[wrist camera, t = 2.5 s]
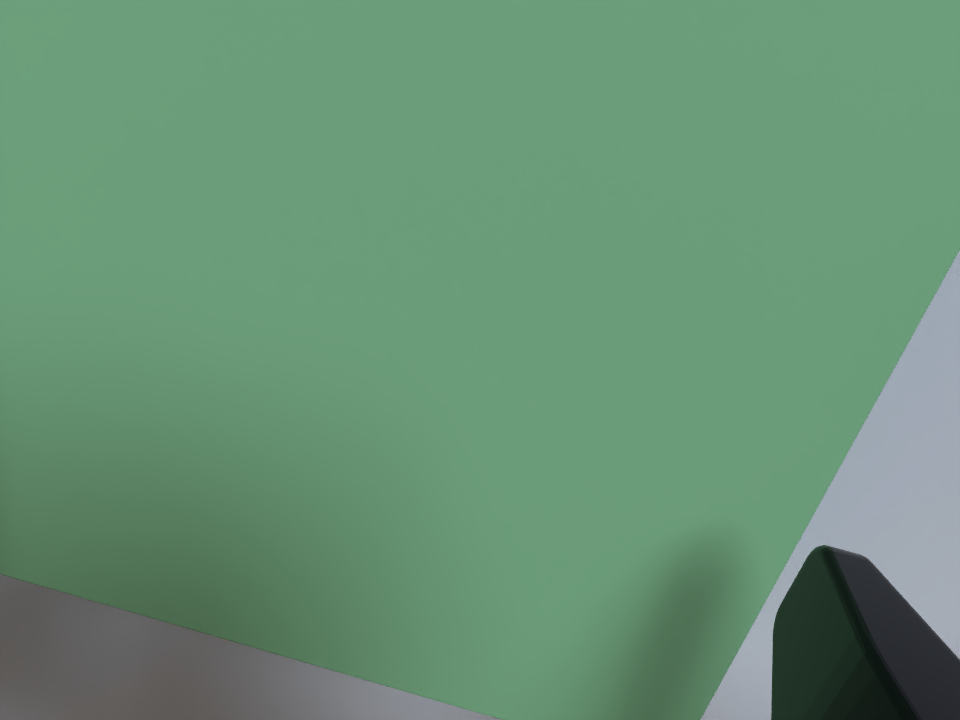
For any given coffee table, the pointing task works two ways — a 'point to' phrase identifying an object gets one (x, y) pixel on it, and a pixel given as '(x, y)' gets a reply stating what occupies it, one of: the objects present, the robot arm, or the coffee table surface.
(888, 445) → the coffee table surface
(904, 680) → the robot arm
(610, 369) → the putting mat
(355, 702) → the coffee table surface
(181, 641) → the coffee table surface
